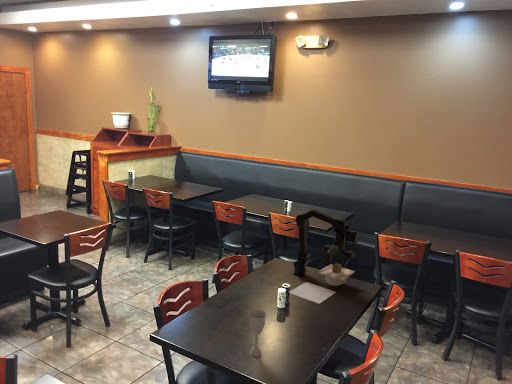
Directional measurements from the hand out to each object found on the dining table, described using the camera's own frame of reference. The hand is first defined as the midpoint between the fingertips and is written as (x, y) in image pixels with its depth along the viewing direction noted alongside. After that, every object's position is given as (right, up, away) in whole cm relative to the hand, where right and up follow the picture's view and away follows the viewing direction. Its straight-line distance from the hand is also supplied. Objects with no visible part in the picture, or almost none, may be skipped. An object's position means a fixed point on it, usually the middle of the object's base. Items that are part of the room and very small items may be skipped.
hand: (337, 264), depth 245 cm
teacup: (-1, -13, +3) cm, 13 cm away
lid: (0, -5, +1) cm, 5 cm away
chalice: (-49, -25, -70) cm, 89 cm away
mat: (-16, -14, -9) cm, 24 cm away
